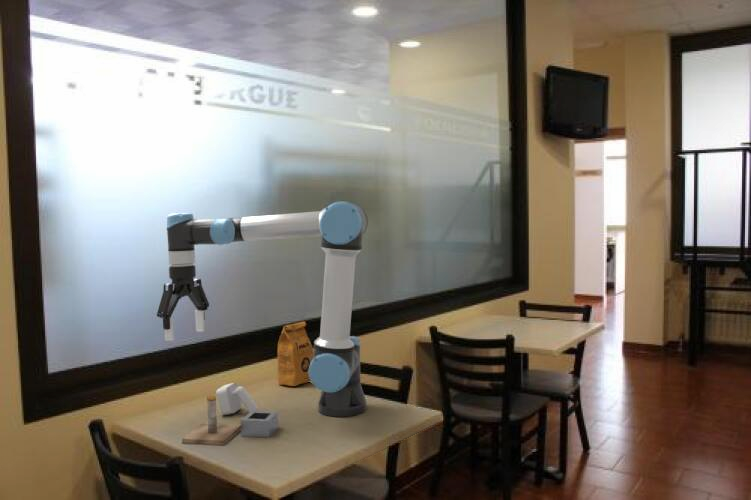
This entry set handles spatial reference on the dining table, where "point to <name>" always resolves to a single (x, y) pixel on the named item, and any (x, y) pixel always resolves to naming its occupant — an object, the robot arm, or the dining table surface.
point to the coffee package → (294, 355)
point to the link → (259, 424)
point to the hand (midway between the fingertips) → (185, 335)
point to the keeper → (212, 428)
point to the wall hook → (234, 399)
